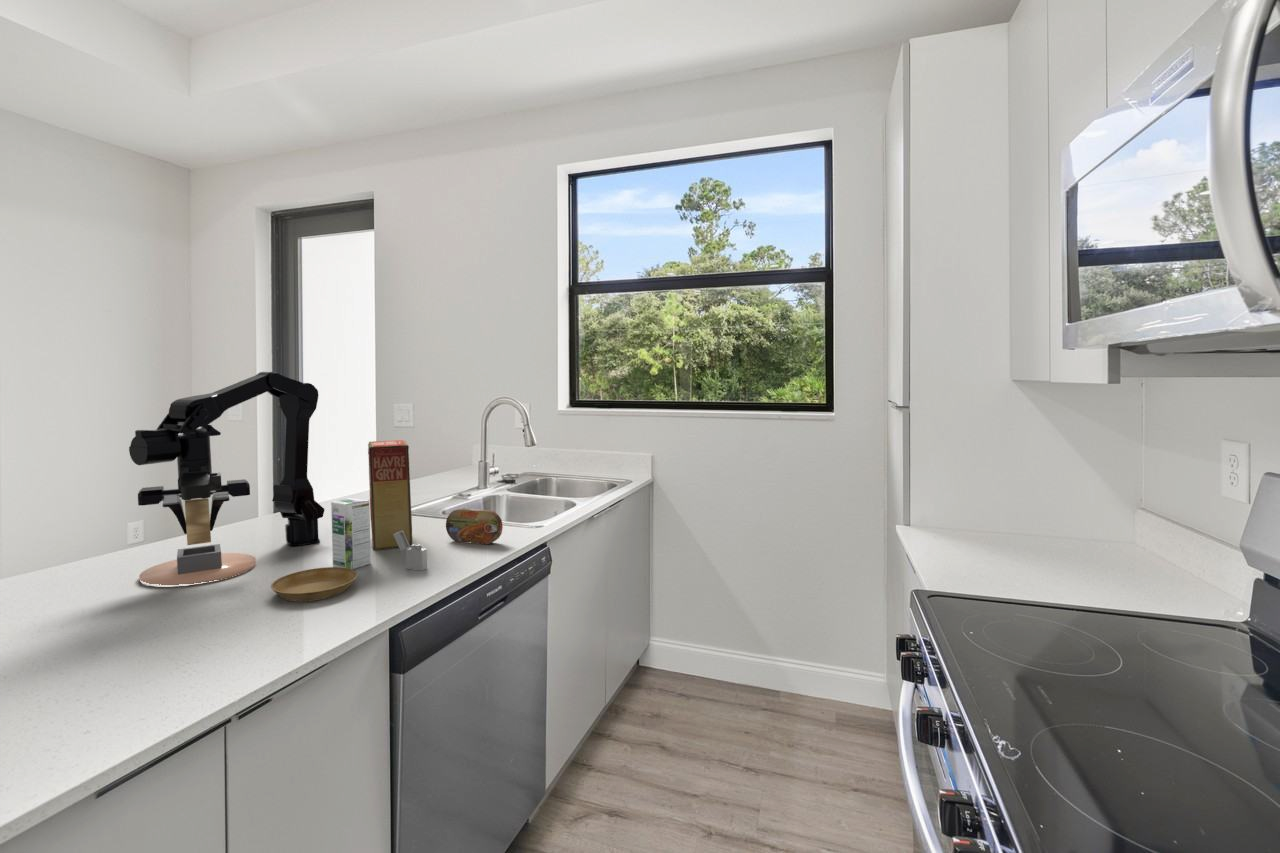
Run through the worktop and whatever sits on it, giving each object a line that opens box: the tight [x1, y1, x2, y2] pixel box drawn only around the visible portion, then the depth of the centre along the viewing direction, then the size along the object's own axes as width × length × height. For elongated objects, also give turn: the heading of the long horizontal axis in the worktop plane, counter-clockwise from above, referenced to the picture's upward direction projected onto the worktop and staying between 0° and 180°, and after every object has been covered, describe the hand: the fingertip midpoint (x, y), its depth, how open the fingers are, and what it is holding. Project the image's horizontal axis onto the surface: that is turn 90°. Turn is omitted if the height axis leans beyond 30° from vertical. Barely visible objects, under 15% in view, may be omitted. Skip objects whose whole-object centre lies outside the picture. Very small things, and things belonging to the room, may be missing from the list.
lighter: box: [393, 530, 428, 571], centre depth 132 cm, size 7×2×8 cm, turn 76°
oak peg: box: [184, 498, 212, 546], centre depth 128 cm, size 4×4×9 cm
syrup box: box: [330, 497, 372, 570], centre depth 133 cm, size 6×6×14 cm
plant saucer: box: [270, 566, 358, 602], centre depth 118 cm, size 15×15×3 cm
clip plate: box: [138, 543, 257, 585], centre depth 129 cm, size 20×20×4 cm
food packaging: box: [367, 439, 413, 551], centre depth 152 cm, size 13×9×25 cm
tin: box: [445, 508, 504, 545], centre depth 153 cm, size 15×3×8 cm, turn 73°
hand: (198, 532), depth 128 cm, fingers closed on oak peg, 4 cm apart
